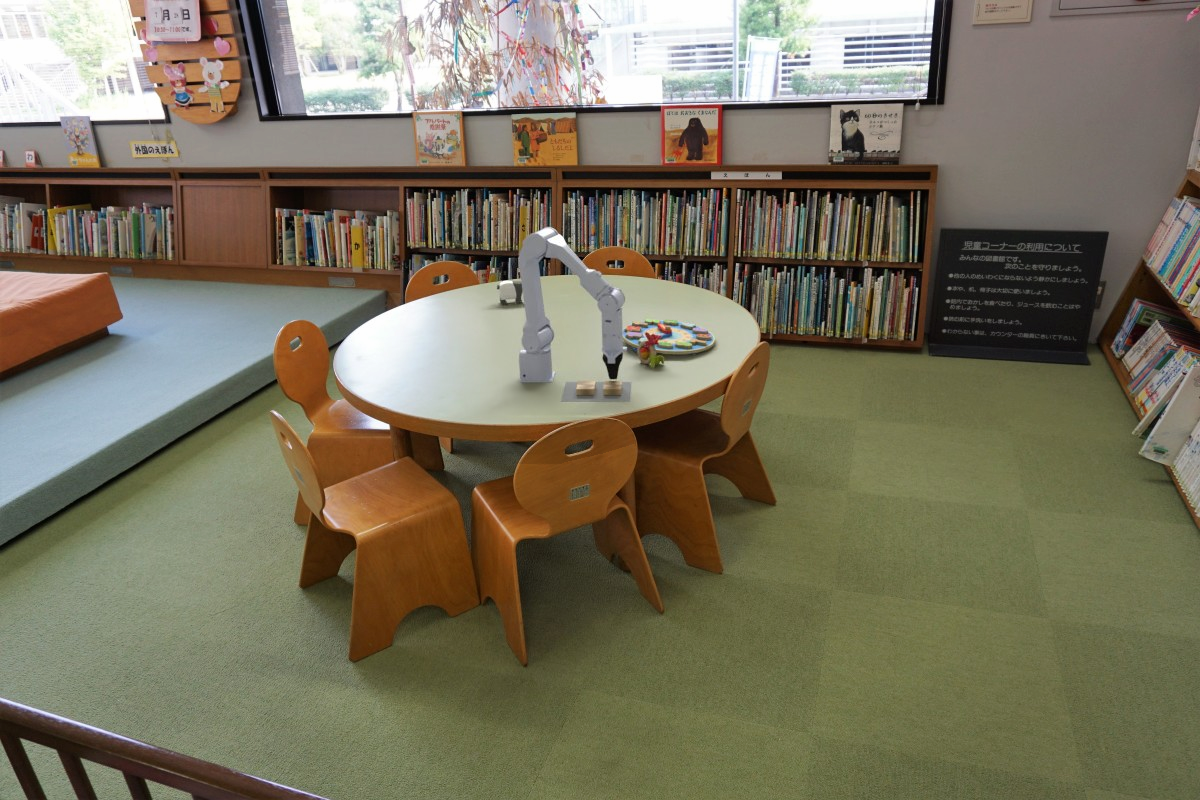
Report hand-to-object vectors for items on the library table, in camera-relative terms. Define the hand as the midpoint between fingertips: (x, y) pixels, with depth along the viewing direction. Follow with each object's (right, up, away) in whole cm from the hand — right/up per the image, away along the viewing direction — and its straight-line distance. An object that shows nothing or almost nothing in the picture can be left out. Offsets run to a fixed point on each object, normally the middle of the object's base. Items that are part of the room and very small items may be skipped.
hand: (613, 378), depth 230 cm
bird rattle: (+11, +4, +17) cm, 20 cm away
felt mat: (-5, -4, -2) cm, 6 cm away
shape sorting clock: (+18, +12, +36) cm, 42 cm away
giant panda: (-36, +31, +82) cm, 95 cm away
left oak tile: (-7, -2, +1) cm, 8 cm away
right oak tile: (0, -2, 0) cm, 1 cm away
